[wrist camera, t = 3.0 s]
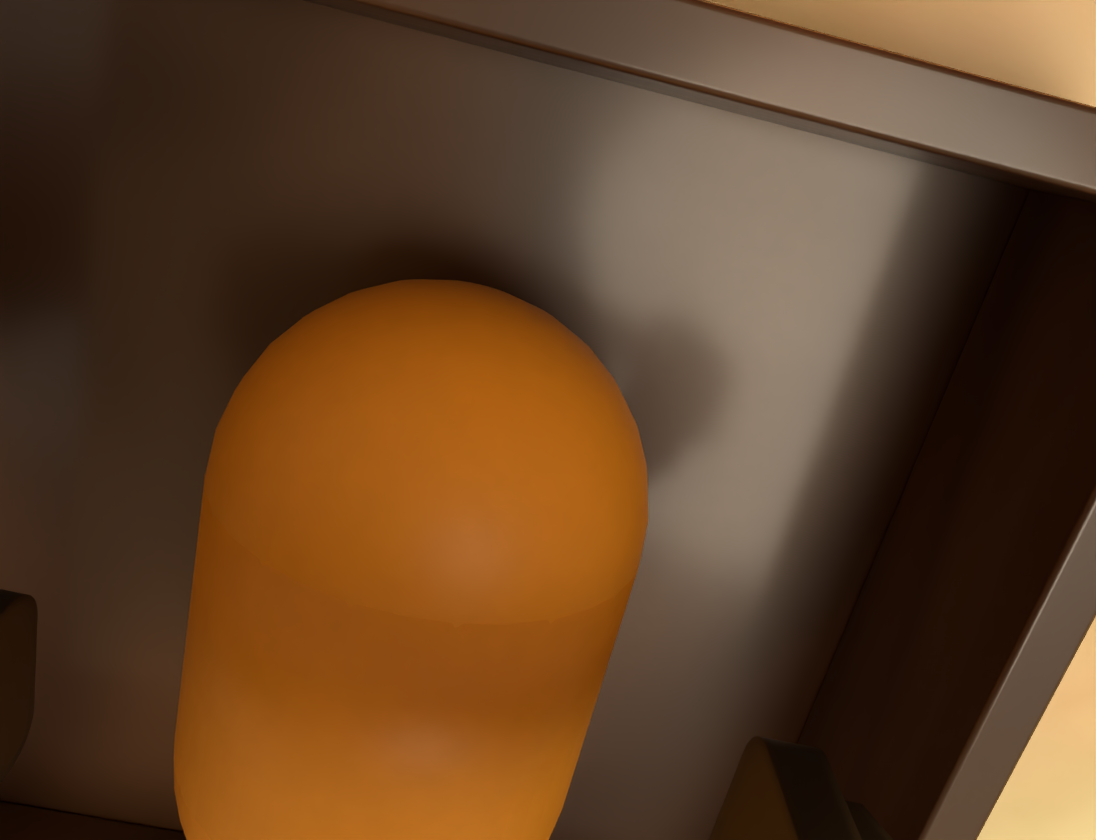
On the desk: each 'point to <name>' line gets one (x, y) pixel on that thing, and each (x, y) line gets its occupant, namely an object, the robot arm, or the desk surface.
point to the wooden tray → (612, 334)
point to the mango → (407, 574)
